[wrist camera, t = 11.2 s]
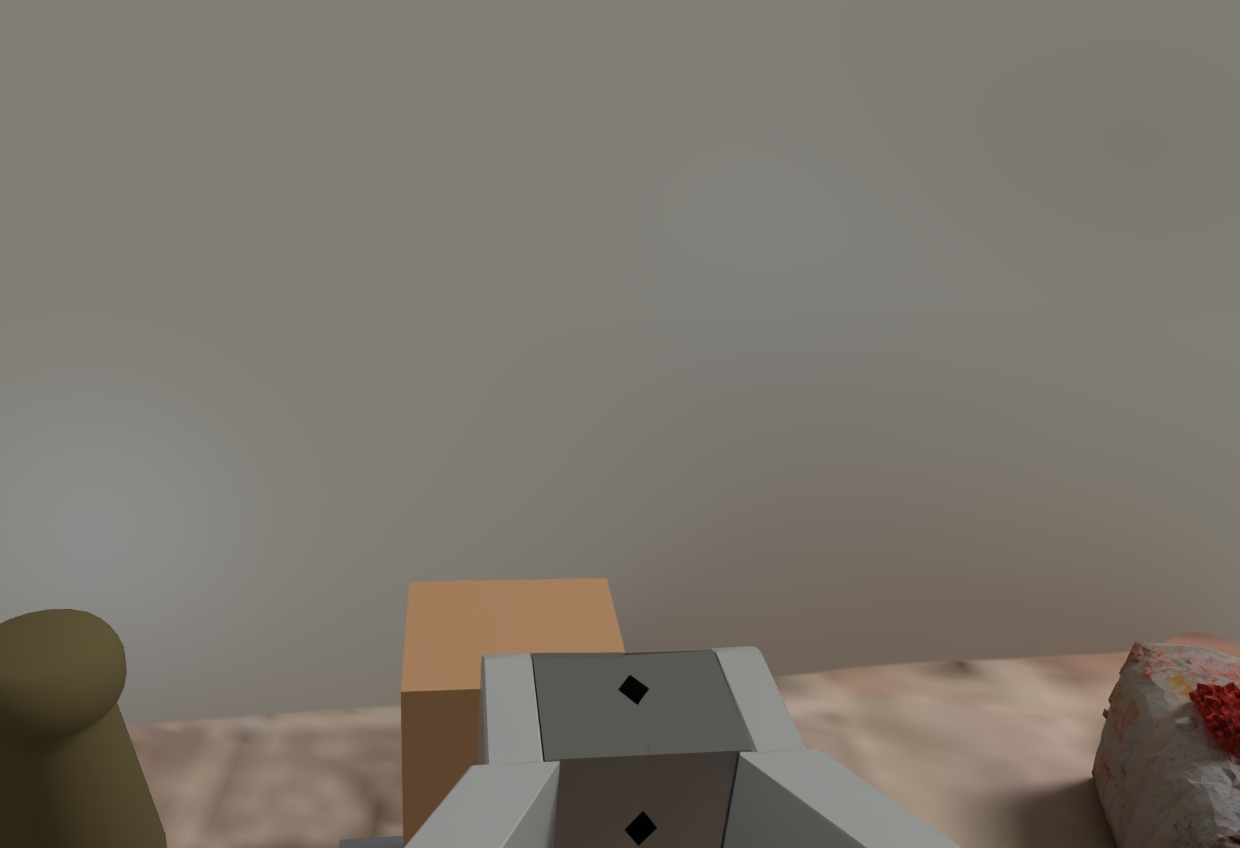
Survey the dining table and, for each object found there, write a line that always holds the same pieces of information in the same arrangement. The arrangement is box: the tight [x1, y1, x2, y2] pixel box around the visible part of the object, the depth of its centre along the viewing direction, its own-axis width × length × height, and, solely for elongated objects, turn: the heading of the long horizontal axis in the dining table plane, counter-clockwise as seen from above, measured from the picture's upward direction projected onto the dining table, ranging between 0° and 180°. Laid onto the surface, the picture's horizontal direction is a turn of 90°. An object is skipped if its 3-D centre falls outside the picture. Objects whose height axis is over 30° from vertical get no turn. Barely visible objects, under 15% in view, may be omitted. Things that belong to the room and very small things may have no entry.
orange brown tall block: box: [401, 578, 625, 848], centre depth 30 cm, size 5×6×14 cm
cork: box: [0, 609, 167, 848], centre depth 35 cm, size 6×6×11 cm
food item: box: [1092, 641, 1240, 848], centre depth 39 cm, size 14×8×10 cm, turn 169°
